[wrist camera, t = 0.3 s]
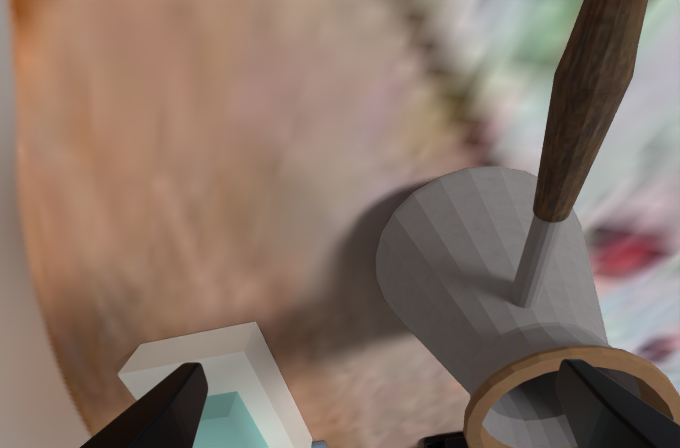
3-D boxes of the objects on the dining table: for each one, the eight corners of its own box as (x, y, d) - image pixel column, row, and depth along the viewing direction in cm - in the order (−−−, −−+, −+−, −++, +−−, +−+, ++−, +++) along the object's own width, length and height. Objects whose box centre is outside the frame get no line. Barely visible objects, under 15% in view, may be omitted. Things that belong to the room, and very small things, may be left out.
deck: (312, 438, 32) (307, 473, 29) (213, 452, 34) (200, 486, 31) (255, 321, 27) (244, 351, 24) (140, 344, 28) (117, 374, 25)
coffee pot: (553, 297, 24) (795, 597, 11) (388, 321, 26) (420, 607, 12) (566, -85, 16) (1851, -971, 2) (317, -15, 17) (167, -277, 4)
